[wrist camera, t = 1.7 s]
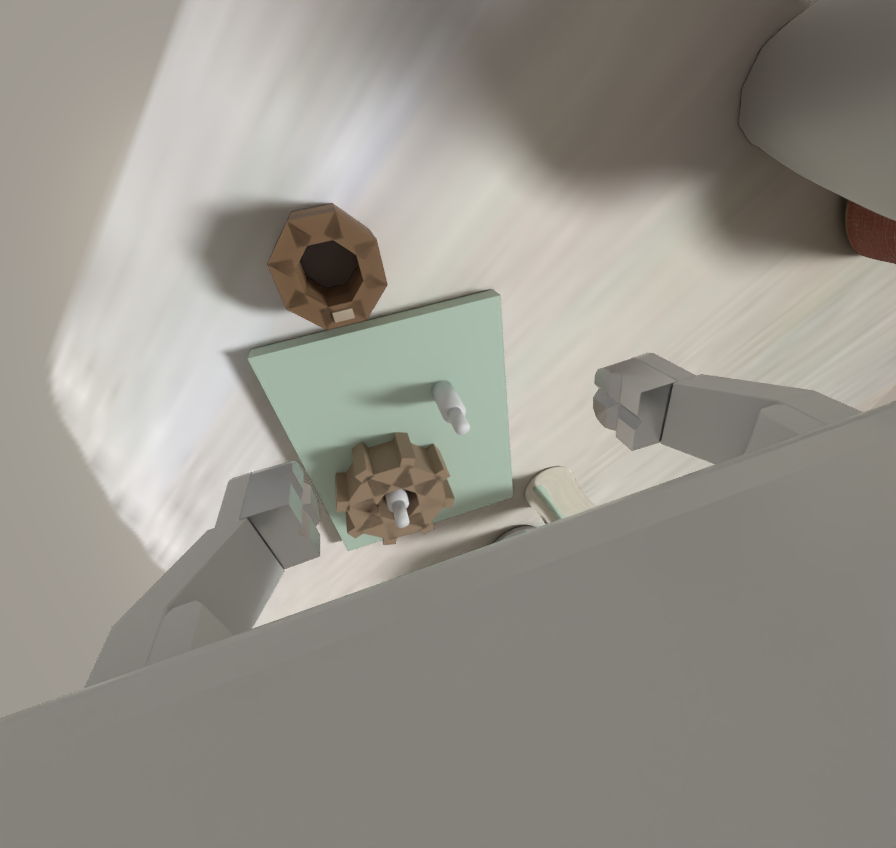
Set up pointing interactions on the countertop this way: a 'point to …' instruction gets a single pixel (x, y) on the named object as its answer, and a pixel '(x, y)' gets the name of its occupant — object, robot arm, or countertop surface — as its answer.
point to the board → (398, 415)
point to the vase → (830, 99)
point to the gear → (307, 294)
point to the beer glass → (556, 495)
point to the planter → (870, 233)
